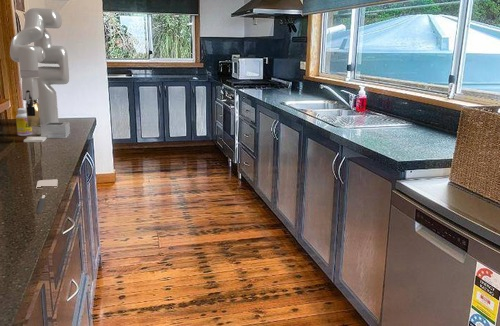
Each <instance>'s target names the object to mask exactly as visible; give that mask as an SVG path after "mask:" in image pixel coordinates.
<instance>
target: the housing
mask: <svg viewBox="0 0 500 326" xmlns="http://www.w3.org/2000/svg"><path fill="white" fill-rule="evenodd" d="M70 125H71V124H70V121H59V122H45V123H44V124H42V125H41V126H40V137H47V139H67V138H68V137H69V136H70V135H71V127H70Z"/></svg>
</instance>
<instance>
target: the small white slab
mask: <svg viewBox="0 0 500 326" xmlns="http://www.w3.org/2000/svg"><path fill="white" fill-rule="evenodd" d="M58 182H59V180H58V179H57V178H56V179H42V180H41V179H38V180H37V182H36V187H35V189H38V188H37V187H41V186H57V187H58V184H59V183H58ZM45 197H46V196H45V195H43V194H42V196H41V198H39V201H38V205H37V208H36V212H35V214H37V215H38V213H39V214H42V212H43V208H44V206H45V200H46V198H45Z"/></svg>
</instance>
